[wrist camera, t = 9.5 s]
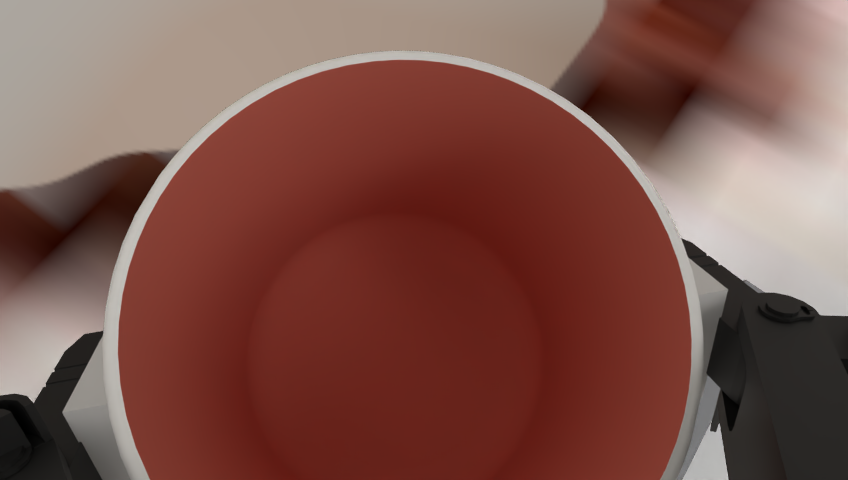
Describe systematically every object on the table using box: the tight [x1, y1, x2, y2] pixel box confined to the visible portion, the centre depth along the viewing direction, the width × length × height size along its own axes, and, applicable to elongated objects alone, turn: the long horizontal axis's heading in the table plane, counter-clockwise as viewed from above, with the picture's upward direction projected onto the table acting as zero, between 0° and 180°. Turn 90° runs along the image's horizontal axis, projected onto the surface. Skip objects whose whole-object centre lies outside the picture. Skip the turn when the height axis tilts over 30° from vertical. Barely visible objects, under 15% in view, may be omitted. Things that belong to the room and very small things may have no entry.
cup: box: [102, 51, 704, 480], centre depth 14 cm, size 10×10×10 cm
